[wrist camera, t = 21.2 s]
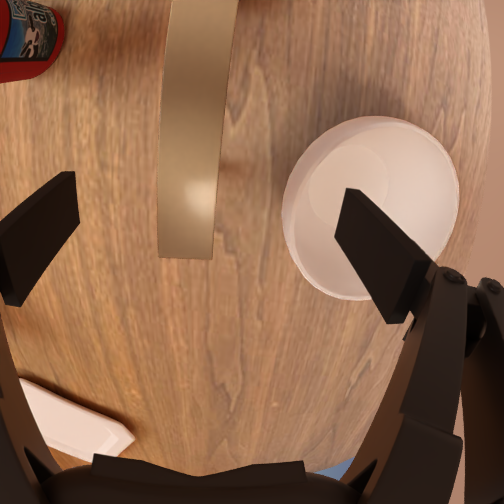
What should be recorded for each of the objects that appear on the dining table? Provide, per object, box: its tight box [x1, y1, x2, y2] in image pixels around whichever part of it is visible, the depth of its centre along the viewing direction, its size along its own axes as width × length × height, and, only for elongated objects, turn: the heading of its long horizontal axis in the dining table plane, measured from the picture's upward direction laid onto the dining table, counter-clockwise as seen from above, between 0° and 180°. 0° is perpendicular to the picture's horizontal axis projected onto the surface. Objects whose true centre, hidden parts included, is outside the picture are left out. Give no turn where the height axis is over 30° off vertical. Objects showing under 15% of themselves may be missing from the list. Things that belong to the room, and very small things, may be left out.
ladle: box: [157, 0, 240, 260], centre depth 15 cm, size 18×4×14 cm, turn 173°
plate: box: [19, 378, 135, 462], centre depth 43 cm, size 25×25×2 cm
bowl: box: [281, 116, 459, 301], centre depth 24 cm, size 14×14×8 cm
